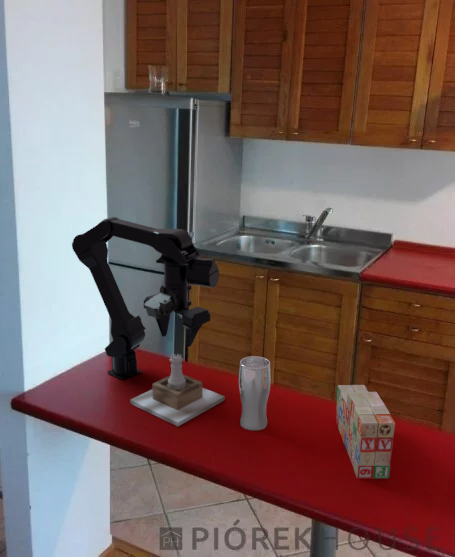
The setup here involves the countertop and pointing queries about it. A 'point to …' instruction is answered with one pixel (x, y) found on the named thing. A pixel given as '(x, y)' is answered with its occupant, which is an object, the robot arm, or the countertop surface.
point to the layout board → (182, 412)
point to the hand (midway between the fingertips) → (176, 341)
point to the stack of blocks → (365, 430)
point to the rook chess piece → (176, 373)
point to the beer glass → (254, 391)
